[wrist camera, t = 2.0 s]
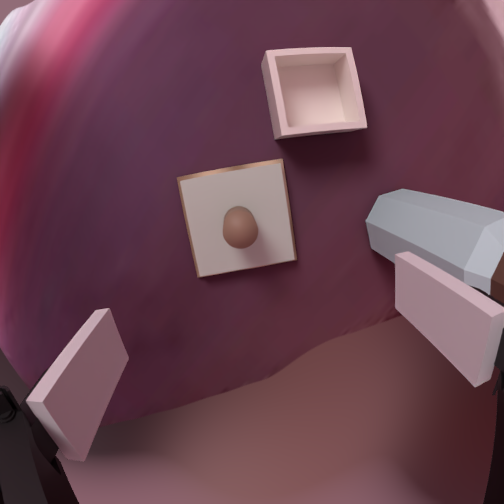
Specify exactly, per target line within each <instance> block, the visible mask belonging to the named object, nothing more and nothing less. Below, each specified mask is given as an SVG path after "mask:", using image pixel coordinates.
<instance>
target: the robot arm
mask: <svg viewBox="0 0 504 504" xmlns="http://www.w3.org/2000/svg"><path fill="white" fill-rule="evenodd" d="M395 308H396V309H397V310H398V311H399V312H400V313H401V314H402V315H403V316H404V317H405V318H407V320H408V321H409V322H411V323H412V324H413V325H414V326H415V327H416V328H417V329H418V330H419V331H420V332H421V333H422V334H423V335H424V336H425V337H426V338H427V339H428V340H429V341H430V342H431V343H432V344H433V345H434V346H435V347H436V348H437V349H438V350H439V351H440V352H441V353H442V354H443V355H444V356H445V357H446V358H447V359H448V360H449V361H450V362H451V363H452V364H453V365H454V366H455V367H456V368H457V369H458V370H459V371H460V372H461V373H462V374H463V375H464V376H465V377H466V378H467V380H468V381H469V382H470V383H472V385H473V386H474V387H477V386H478V385H480V384H482V383H484V382H486V381H488V380H489V379H490V378H491V375H492V371H493V368H494V365H495V366H496V367H497V368H499V369H500V373H499V376H498V379H497V382H496V385H495V388H494V391H493V394H492V395H495V393H496V391H497V390H498V395H497V416H496V428H495V439H494V447H493V455H492V461H491V467H490V473H489V479H488V484H487V488H486V493H485V498H484V502H483V504H504V303H502V302H501V301H499V300H497V299H495V298H494V297H493V296H491V295H488V293H486V292H484V291H483V290H481V289H479V288H476V287H473V286H469V285H467V284H465V283H464V282H462V281H460V280H459V279H457V278H455V277H453V276H452V275H450V274H448V273H447V272H445V271H443V270H441V269H440V268H438V267H436V266H434V265H433V264H431V263H429V262H427V261H425V260H424V259H422V258H420V257H418V256H416V255H415V254H413V253H411V252H409V251H407V252H402V253H398V254H395ZM128 359H129V357H128V355H127V352H126V350H125V348H124V345H123V343H122V340H121V338H120V335H119V332H118V330H117V327H116V325H115V322H114V319H113V316H112V314H111V311H110V308H107V309H100V310H95V312H94V313H93V314H92V315H91V316H90V318H89V319H88V320H87V321H86V322H85V324H84V325H83V326H82V327H81V328H80V330H79V331H78V332H77V333H76V335H75V336H74V337H73V338H72V340H71V341H70V342H69V343H68V345H67V346H66V347H65V349H64V350H63V351H62V352H61V354H60V355H59V356H58V358H57V359H56V360H55V361H54V363H53V364H52V365H51V367H49V368H48V369H47V370H46V371H44V373H43V374H42V375H41V377H40V378H39V379H38V380H39V381H37V382H36V383H35V385H34V387H32V389H31V390H30V392H29V393H28V394H27V396H26V397H25V398H24V400H23V401H22V403H21V404H20V406H19V404H18V403H17V401H16V400H15V398H14V396H13V395H12V393H11V391H10V390H9V388H8V387H6V386H0V504H79V502H78V500H77V498H76V496H75V494H74V492H73V490H72V488H71V485H70V483H69V481H68V479H67V476H66V474H65V472H64V470H63V467H62V465H61V462H60V461H59V459H58V458H57V457H56V456H55V455H56V453H57V451H58V449H60V451H61V452H62V453H63V455H64V456H65V457H66V458H67V459H69V460H76V461H85V459H86V456H87V454H88V451H89V449H90V446H91V444H92V441H93V439H94V436H95V434H96V432H97V429H98V427H99V424H100V422H101V420H102V417H103V415H104V413H105V410H106V408H107V406H108V403H109V401H110V399H111V396H112V394H113V392H114V390H115V387H116V385H117V383H118V381H119V379H120V376H121V374H122V372H123V370H124V368H125V366H126V363H127V361H128Z"/></svg>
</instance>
